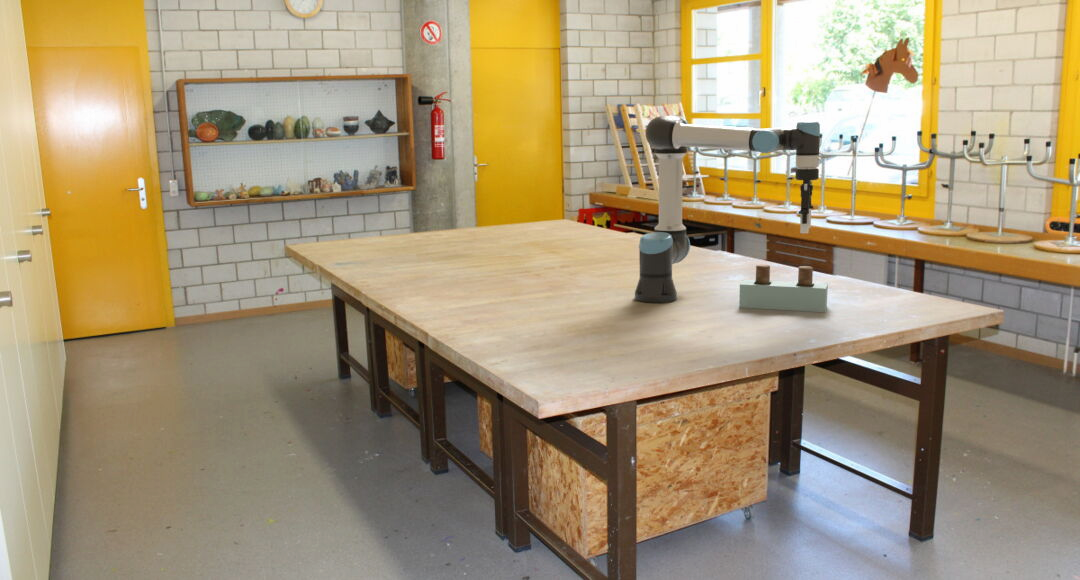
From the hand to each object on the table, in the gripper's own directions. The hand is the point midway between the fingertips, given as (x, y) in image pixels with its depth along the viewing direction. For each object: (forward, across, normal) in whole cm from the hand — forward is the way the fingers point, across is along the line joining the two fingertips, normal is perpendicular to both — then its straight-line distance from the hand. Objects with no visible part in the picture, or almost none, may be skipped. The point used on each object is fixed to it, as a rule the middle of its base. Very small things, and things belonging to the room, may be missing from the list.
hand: (805, 230), depth 305 cm
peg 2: (+19, -8, -1) cm, 21 cm away
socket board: (+25, -8, +6) cm, 27 cm away
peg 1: (+19, -8, +13) cm, 25 cm away
